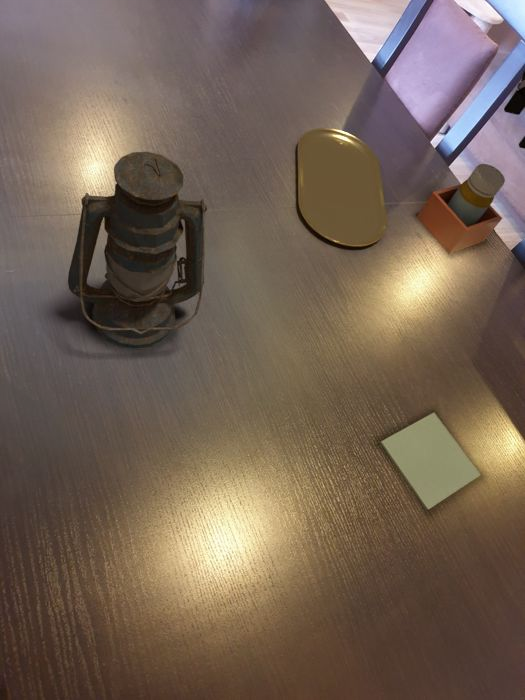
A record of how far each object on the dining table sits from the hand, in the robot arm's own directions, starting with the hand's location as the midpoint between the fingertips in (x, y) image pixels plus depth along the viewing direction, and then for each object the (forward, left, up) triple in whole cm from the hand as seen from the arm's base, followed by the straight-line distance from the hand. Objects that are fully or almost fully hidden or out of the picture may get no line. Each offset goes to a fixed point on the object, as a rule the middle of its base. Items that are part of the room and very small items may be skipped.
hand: (518, 129), depth 100 cm
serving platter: (+17, -18, -25) cm, 35 cm away
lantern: (+70, -3, -25) cm, 74 cm away
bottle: (-1, 0, -25) cm, 25 cm away
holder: (-1, 0, -25) cm, 25 cm away
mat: (+39, +38, -25) cm, 60 cm away
